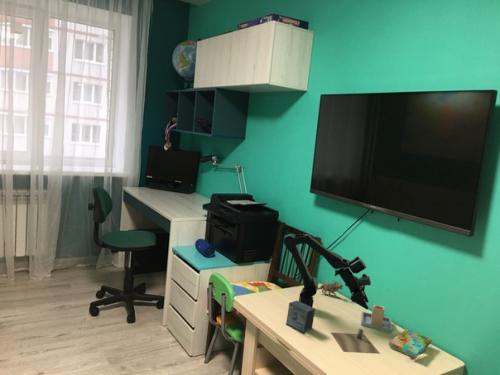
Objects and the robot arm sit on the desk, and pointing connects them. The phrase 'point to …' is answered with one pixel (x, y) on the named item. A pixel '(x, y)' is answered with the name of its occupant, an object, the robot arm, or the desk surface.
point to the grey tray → (367, 323)
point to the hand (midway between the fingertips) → (367, 305)
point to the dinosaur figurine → (331, 287)
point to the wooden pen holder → (377, 315)
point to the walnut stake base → (354, 342)
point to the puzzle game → (410, 343)
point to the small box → (300, 316)
